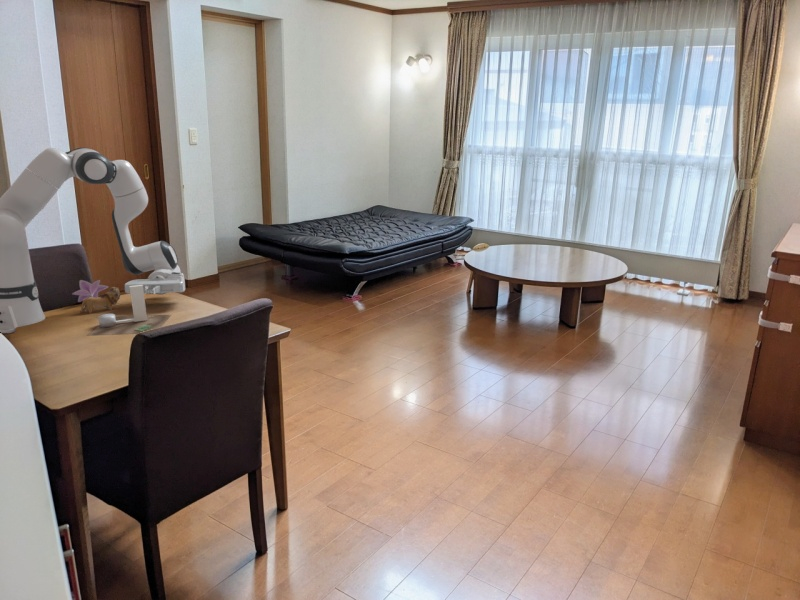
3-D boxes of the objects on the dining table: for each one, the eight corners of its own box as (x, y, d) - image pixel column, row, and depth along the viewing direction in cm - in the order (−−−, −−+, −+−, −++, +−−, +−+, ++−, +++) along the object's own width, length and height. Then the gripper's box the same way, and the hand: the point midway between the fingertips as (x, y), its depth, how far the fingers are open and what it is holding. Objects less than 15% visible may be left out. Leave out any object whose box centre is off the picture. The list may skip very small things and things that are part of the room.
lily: (116, 301, 232) (106, 278, 233) (106, 297, 221) (96, 274, 221) (85, 313, 230) (75, 290, 230) (73, 310, 218) (64, 286, 219)
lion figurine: (120, 308, 220) (116, 284, 217) (125, 311, 216) (121, 287, 213) (76, 316, 210) (72, 292, 208) (80, 320, 206) (76, 295, 204)
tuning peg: (99, 328, 193) (93, 292, 190) (99, 323, 198) (94, 288, 194) (147, 321, 199) (143, 286, 196) (146, 317, 204) (142, 283, 200)
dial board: (87, 339, 188) (86, 334, 187) (109, 320, 206) (108, 316, 205) (156, 337, 190) (156, 332, 189) (172, 318, 208) (171, 313, 207)
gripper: (130, 274, 219) (117, 284, 206) (187, 273, 221) (178, 282, 208) (132, 291, 221) (119, 301, 207) (189, 289, 223) (180, 299, 210)
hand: (149, 292), depth 208 cm, fingers closed
